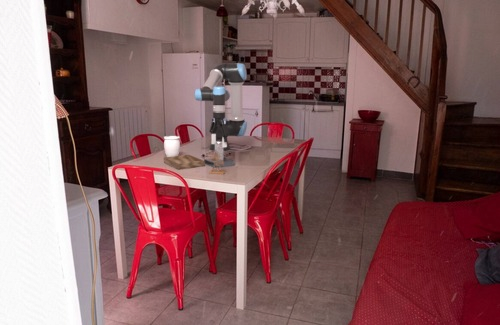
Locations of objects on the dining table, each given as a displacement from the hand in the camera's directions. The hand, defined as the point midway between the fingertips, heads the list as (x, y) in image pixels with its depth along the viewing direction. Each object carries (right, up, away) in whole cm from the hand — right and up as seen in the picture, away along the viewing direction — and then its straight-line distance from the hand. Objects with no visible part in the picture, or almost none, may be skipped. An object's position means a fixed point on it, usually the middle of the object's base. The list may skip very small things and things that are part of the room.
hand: (219, 145), depth 240 cm
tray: (-23, -12, +2) cm, 26 cm away
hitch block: (0, -12, +3) cm, 13 cm away
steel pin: (0, -12, +3) cm, 13 cm away
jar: (-33, -8, +18) cm, 39 cm away
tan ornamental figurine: (0, -17, -18) cm, 25 cm away
